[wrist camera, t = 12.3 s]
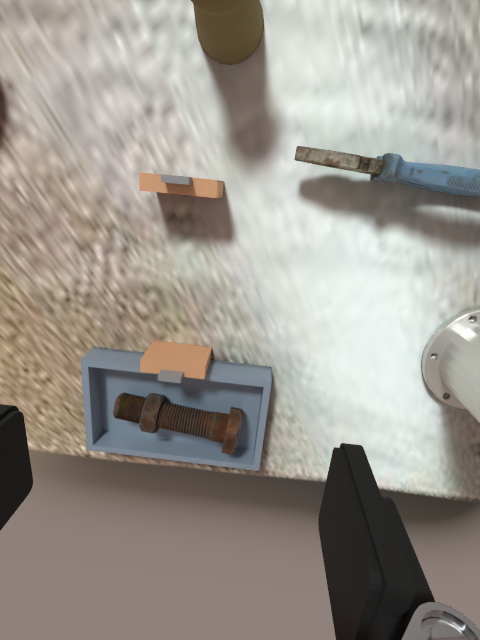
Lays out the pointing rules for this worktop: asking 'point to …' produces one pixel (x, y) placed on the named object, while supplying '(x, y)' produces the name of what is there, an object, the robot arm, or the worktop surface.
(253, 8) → the cork
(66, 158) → the worktop surface
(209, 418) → the bolt
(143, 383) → the tray
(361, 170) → the pliers
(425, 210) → the worktop surface
